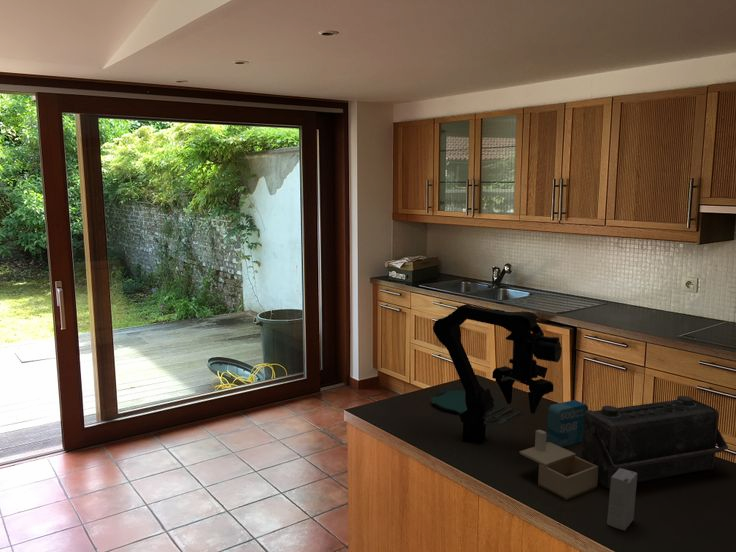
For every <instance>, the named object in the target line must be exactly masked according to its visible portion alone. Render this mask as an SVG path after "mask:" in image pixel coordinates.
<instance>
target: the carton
mask: <svg viewBox="0 0 736 552" xmlns="http://www.w3.org/2000/svg"><path fill="white" fill-rule="evenodd" d="M597 481H598V466H596V465H594V464H592V463H590V462H587V461H585V460H583V459H581V458H580V457H579V456H577V455H576V456H574V457H571V458H568V459H565V460H563V461H560V462H557V463H554V464H552V465H549V466H544V465H542V464H540V463H538V481H537V486H538V487H540V488H542V489H544V490H546V491H548V492H550V493H551V494H553V495H555V496H557V497H559V498H561V499H563V500H565V501H568V500H571V499H573V498H575V497H578V496H580V495H582V494H585V493H587V492H590V491H592V490H595V489H596V488H598V483H597Z"/></svg>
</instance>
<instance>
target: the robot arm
mask: <svg viewBox="0 0 736 552" xmlns="http://www.w3.org/2000/svg"><path fill="white" fill-rule="evenodd" d="M466 320H470V321H474V322H475V321H476V322H480V323H483V324H489V325H493V326H499V327H501V328H504V329H505V330H506V331H508V332H510V333H509V335H507V336H506V337H505V340H507V341H512V358H509V362H508V363H509V364H511V367H509V366H506V365H505V366H500V367H496V368H494V369H493V371H492V379H494V381H495V382H496V383H497V384H498V386H499V388H500V389H499V390H501V392H502V394H503V396H504V398H505V401H506V403H507V405H510V404H512V399H513V386H514V384H515V382H518V383H519V384H523V385H525V386H528V390H529V391H528V392H527V394H528V395H527V396H528V403H529V410H530V413H531V414H535V413H536V410H537V408H538V406H539V404H540V402H541V400H542V399H543V397H544V396H545V395H548V394H549V393H553V392H554V383H553V382H552V381H550V380H547V379H545V378H546V376H547V372H548V367H546V366H542V365H539V364H537V360H541V361H547V362H553V363H559V361H560V360H561V357H562V352H563V351H562V345H561V344H562V343H561V342H560V337H559V336H558V337H556V336H546V335H545V334H544V331H542V328H541V327H540V325H539V324H538V321H537V318H536V316H535V315H534V313H533V312H530V311H510V312H509V311H502V310H497V309H496V310H495V309H491V308H487V307H482V306H477V305H476V306H475V305H471V304H470V303H466V304H465V303H464V304H463V305H459V306H458V307H457V308H456V309H454V311H452V312H451V313H449V314H448V315H447V316H444V317H442V318H439V319H437V320H436V321H434V324H433V326H432V329H433V330H432V331H433V334H434V335H435V337H436V338H437V340H438V342H440V343H441V344H442V345H443V346H444V347H445V348H446V350H447V351H448V355H449V357H450V359H451V361H452V363H453V366H454V368H455V371H456V373H457V376H458V377H459V381H460V383H461V385H462V386H463V391H465V403H466V407H467V410H466V411H465V412H463V413H462V414H459V419H460V422H461V423H462V437H461V441H462V442H467V443H474V444H480V445H481V444H484V442H485V441H486V438H487V437H488V436H487V433H488V428H487V427H488V424H487V423H486V418H488V416H487V415H488V414H489V413H491V411H493V410H494V407H495V404H494V401H495V399H494V398H493V397H492V394H491V391H490V389H489V388H486V389H484V388H483V387H482V385H481V384H480V383H479V380H478V378H477V376H476V374H475V371H474V369H473V366H472V364H471V362H470V360H469V357H468V355H467V353H466V350H465V348H464V346H463V344H462V330H461V327H460V326H461V325H462V324H464V323H465V322H466ZM534 358H536V359H537V360H536V359H534ZM538 377H541V378H539V379H537V378H538Z"/></svg>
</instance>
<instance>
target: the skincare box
mask: <svg viewBox="0 0 736 552" xmlns="http://www.w3.org/2000/svg"><path fill="white" fill-rule="evenodd" d="M637 484H638V482H637V473H636V472H633V471H629V470H625V469H621V468H619V469H618V470H617V472H616V473H615V474H614V475H613V476H612V477H611V485H610V488H609V494H608V495H609V496H608V507H607V509H608V510H607V520H606V524H607V525H608V526H611V527H612V528H616V529H618V530H622V531H626V530H627V529H628V528H629V526H630V524H631V523H632V522H633V521H634V517H635V506H636V504H635V503H636V495H637V494H636V493H637Z"/></svg>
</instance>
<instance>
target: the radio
mask: <svg viewBox="0 0 736 552" xmlns="http://www.w3.org/2000/svg"><path fill="white" fill-rule="evenodd" d="M676 398H677V399H674V400H666V401H659V402H653V403H652V402H651V403H643V404H637V405H628V406H621V407H616V406H614V405H613V406H612V405H603V406H602V407H601V409H599V410H589V409H588V411H586V412H585V414H584V419H583V436H582V442H581V453H580V454H581V456H580V457H581V459H583V460H585V461H587V462H590V463H592V464H594V465H596V466H598V481H597V484H599V485H600V486H602V487H603V488H606V489H610V485H611V477H612V476H613V475H614V474H615V473H616V472H617V470H618V469H619V468H621V469H625V470H629V471H633V472H636V473H637V483H642V482H646V481H652V480H657V479H663V478H668V477H672V476H679V475H685V474H690V473H695V472H696V473H697V472H701V471H711V470H713V468H715V467H714V466H715V461H716V459H715V458H716V453H722V452H724V451H726V450H727V449H729V445H728V444H727V442H726V440H725V438H724V437H723V435H722V433H721V432H720V430H719V428H718V427H719V426H718V425H719V417H720V414H719V411H718V409H716V408H715V407H713V406H710V405H707V404H705V403H702V402H701V401H698V400H696V399H694V398H693V397H691V396H687V395H678V396H677V397H676Z"/></svg>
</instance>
